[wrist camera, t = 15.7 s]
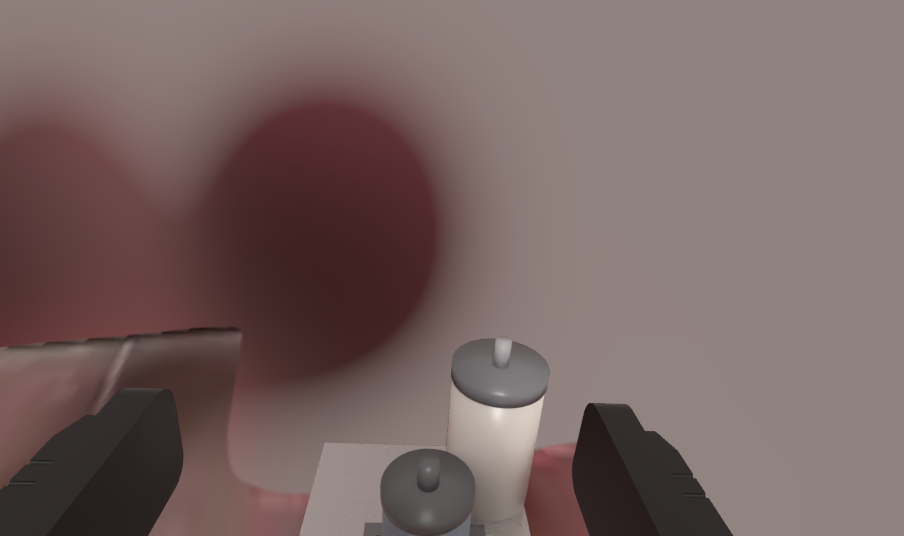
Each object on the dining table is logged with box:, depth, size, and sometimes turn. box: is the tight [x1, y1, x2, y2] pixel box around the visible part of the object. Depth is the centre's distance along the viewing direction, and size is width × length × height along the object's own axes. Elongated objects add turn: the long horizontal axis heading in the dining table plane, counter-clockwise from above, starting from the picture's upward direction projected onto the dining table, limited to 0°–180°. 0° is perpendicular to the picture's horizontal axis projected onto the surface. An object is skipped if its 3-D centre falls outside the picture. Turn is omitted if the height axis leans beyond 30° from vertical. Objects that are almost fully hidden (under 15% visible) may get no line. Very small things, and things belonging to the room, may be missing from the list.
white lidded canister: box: [446, 336, 550, 522], centre depth 38 cm, size 7×7×14 cm
